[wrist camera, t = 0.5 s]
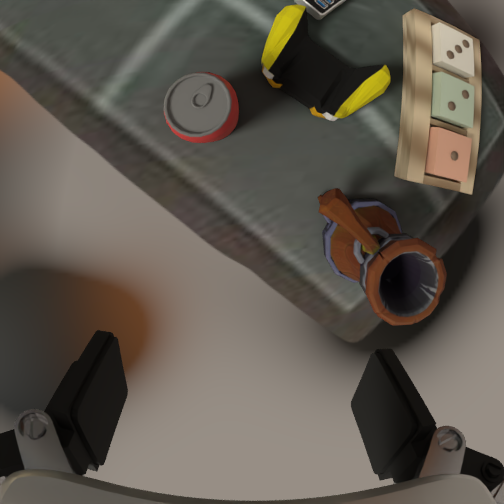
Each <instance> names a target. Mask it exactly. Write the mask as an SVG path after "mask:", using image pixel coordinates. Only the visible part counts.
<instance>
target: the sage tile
mask: <svg viewBox="0 0 504 504" xmlns="http://www.w3.org/2000/svg"><path fill="white" fill-rule="evenodd" d="M430 116H431V117H434V118H437V119H440V120H443V121H446V122H448V123H451V124H454V125H457V126H459V127H463V128H473V118H474V86H472V85H470V84H468V83H466V82H464V81H462V80H460V79H458V78H455V77H453V76H451V75H449V74H446V73H444V72H442V71H441V72H437V73H432V98H431V115H430Z"/></svg>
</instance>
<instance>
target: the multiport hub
mask: <svg viewBox="0 0 504 504" xmlns="http://www.w3.org/2000/svg"><path fill="white" fill-rule="evenodd" d="M294 1H295V2H296V3H297V4H298V5H303V6H305V7H306V11H307V12H308V13H309V14H311V15H312V16H313V17H314V18H315V19H317V20H321V19H322V18H323V17H325V16H326V15H327V14H329V13H330V12H331V11H333V10H334V9H335V8H337V7H338V6H339V5H341V4H342V3H343V2H345V1H346V0H294Z"/></svg>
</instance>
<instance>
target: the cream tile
mask: <svg viewBox="0 0 504 504" xmlns="http://www.w3.org/2000/svg"><path fill="white" fill-rule="evenodd" d="M431 35H432V64H433V65H435V66H438V67H440V68H442V69H445V70H447V71H449V72H452V73H454V74H456V75H458V76H460V77H462V78H467V77H474V53H473V39H471V38H470V37H468V36H466V35H464V34H462V33H460V32H458V31H457V30H455V29H453V28H451V27H449V26H447V25H444V24H442V23H440V22H439V23H437V24H434V25H432V26H431Z"/></svg>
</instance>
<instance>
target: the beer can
mask: <svg viewBox="0 0 504 504" xmlns="http://www.w3.org/2000/svg"><path fill="white" fill-rule="evenodd" d="M164 114H165V118H166V122H167V124H168V125H169V127H170V128H171V130H172V131H173V132H174V133H175V134H176V135H178V136H179V137H180V138H181V139H184V140H187V141H190V142H197V143H206V142H214V141H217V140H221V139H223V138H225V137H226V136H228V135H229V134H230V133H231V132H232V131H233V130H234V129H235V127H236V124H237V122H238V118H239V105H238V99H237V96H236V92H235V90H234V89H233V87H232V86H231V84H230V83H229V82H228V81H226V80H225V79H224V78H222V77H221V76H219V75H216V74H213V73H210V72H196V73H191V74H188V75H185V76H183V77H181V78H180V79H178V80H177V81H175V82H174V84H173V85H172V86H171V87H170V88H169V90H168V92H167V94H166V97H165V99H164Z"/></svg>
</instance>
